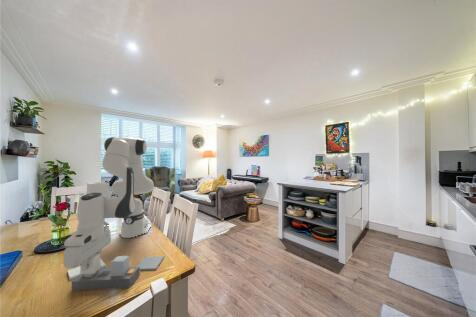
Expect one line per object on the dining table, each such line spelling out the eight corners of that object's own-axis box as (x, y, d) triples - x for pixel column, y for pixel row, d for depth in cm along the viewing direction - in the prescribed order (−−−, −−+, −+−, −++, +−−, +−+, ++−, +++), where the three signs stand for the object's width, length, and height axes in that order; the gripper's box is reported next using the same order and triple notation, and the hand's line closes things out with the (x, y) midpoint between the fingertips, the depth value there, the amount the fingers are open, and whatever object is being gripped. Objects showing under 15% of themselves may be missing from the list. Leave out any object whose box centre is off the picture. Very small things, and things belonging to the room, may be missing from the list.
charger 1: (88, 272, 73) (88, 254, 74) (100, 272, 74) (100, 253, 74) (80, 279, 69) (80, 259, 70) (93, 278, 70) (93, 259, 70)
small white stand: (90, 231, 125) (90, 183, 126) (86, 228, 132) (87, 182, 133) (108, 226, 135) (109, 182, 135) (104, 223, 141) (104, 181, 142)
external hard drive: (67, 273, 78) (101, 261, 88) (69, 281, 73) (105, 267, 82) (67, 270, 78) (101, 258, 88) (69, 277, 73) (105, 264, 83)
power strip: (88, 277, 75) (88, 267, 75) (139, 274, 76) (139, 265, 77) (71, 290, 67) (71, 279, 67) (129, 287, 68) (129, 277, 69)
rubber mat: (144, 258, 89) (144, 257, 89) (163, 257, 90) (163, 256, 90) (134, 270, 79) (134, 269, 79) (156, 269, 80) (156, 268, 80)
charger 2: (117, 270, 74) (117, 256, 74) (129, 269, 74) (129, 255, 74) (110, 276, 70) (111, 261, 70) (123, 275, 70) (123, 261, 70)
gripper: (101, 223, 82) (101, 252, 82) (59, 244, 62) (59, 282, 61) (115, 223, 82) (114, 252, 82) (78, 243, 62) (77, 281, 62)
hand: (90, 265), depth 72 cm, fingers closed on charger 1, 4 cm apart
